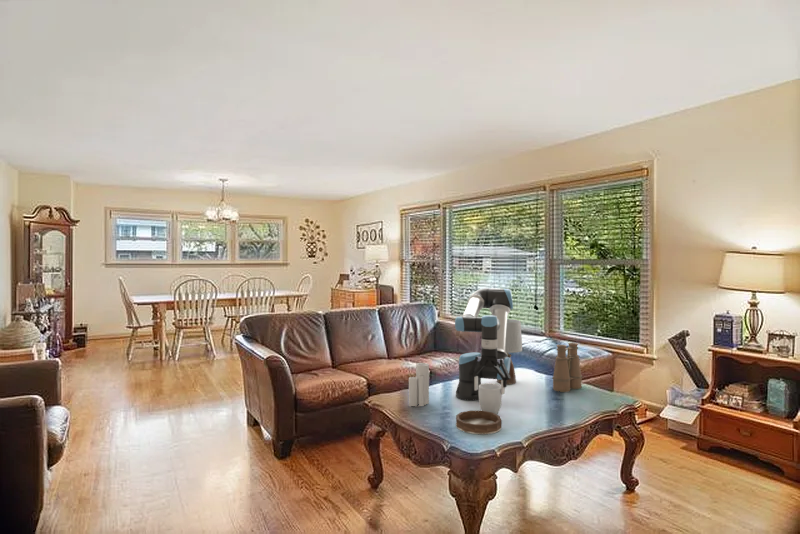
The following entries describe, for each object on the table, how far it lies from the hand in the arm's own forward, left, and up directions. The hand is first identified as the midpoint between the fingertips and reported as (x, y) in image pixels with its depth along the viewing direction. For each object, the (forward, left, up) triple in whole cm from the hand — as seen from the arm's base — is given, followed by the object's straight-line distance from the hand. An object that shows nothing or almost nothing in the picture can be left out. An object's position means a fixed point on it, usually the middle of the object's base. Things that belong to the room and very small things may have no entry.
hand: (489, 391), depth 226 cm
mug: (0, 0, -10) cm, 10 cm away
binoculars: (+21, +64, -10) cm, 68 cm away
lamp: (-13, +58, -10) cm, 61 cm away
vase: (-35, -7, -10) cm, 37 cm away
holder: (+3, -20, -10) cm, 22 cm away
